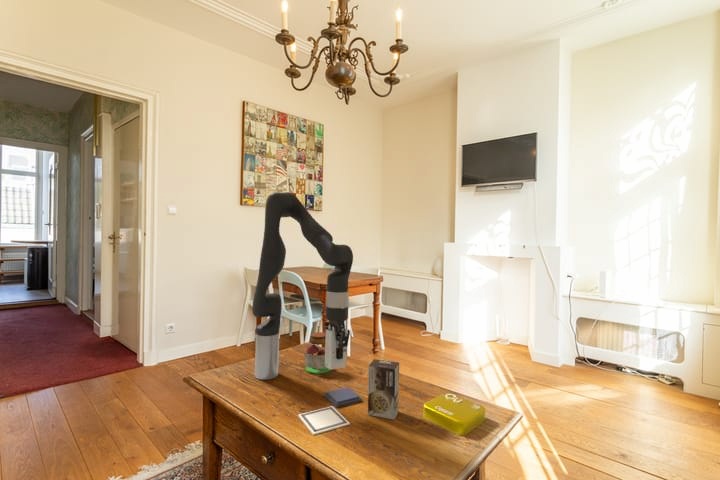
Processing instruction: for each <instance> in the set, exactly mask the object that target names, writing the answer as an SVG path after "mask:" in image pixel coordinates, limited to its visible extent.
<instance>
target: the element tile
mask: <svg viewBox="0 0 720 480" xmlns="http://www.w3.org/2000/svg"><path fill="white" fill-rule="evenodd" d="M422 412H423V414H422V417H423V418H424V419H426V420H427V421H429V422H431V423H433V424H434V425H437V426H439V427H440V428H441V427H442V428H443V429H445V430H447V431H448V432H451V433H453V434H455V435H458V436H466V435H467V434H469V433H470V432H472V431H473V430H474V428H475V429H477V426H478V425H479V426H481V425H482V424H483V422H484V421H486V408H485V406H483V405H481V404H478V403H476V402H474V401H471V400H468V399H465V398H464V397H460V396H458V395H456V394H453V393H451V392H443V394H442V393H441V395H438V396H436V397H434V398H432V399H430V400H428V401H426V402H424V403H423V409H422ZM481 423H482V424H481ZM484 423H485V422H484ZM480 424H481V425H480ZM479 426H478V427H479Z"/></svg>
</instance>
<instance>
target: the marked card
mask: <svg viewBox="0 0 720 480" xmlns="http://www.w3.org/2000/svg"><path fill="white" fill-rule="evenodd" d="M297 416H298V418H299V419H300V420H301V422H302V423H303V424H304V425H305V427H306V428H307V429H308V431H309V432H310V433H311V434H312V435H313V436H314V435H315V436H316V435H318V434H322V433H325V432H328V431H332V430H336V429H338V428H343V427H346V426H348V425H351V423H350V422H349V421H348V420H347V418H345V417H344V415H342V414H341V413H340V411H338V409H337V408H336V407H335V406H334V405H331V406H327V407H323V408H319V409H316V410H315V409H314V410H312V411H307V412H304V413H299V414H298V415H297Z"/></svg>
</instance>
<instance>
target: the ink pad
mask: <svg viewBox="0 0 720 480" xmlns="http://www.w3.org/2000/svg"><path fill="white" fill-rule="evenodd" d="M323 396H324V398H326V399H327V400H328V402H330V403H331V404H332V406H333V407H334V408H335V409H338V408H340V407H344V406H349V405H352V404H357V403H361V402H363V398H362V397H361V396H359V394H357V393H356V392H355V391H354V390H352V389H351V388H350V387H342V388H338V389H334V390H329V391H326V392H323Z"/></svg>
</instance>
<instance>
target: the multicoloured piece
mask: <svg viewBox="0 0 720 480" xmlns="http://www.w3.org/2000/svg"><path fill="white" fill-rule="evenodd" d="M325 339H326V336H325V332H323V331H321V332H320V331H317V332H313V333H310V344H309V345H308V346H307V347H306V349H305V350H306V351H305V352H303V354H304V366H305V370H306V372H307V373H310V374H316V375H317V374H318V375H319V374H325V373H328V372H330V371H331V370H330V369H328V368H327V367H326V366H325V349H320V348H319V347H318V346H317V345H319V346H321V345H325Z"/></svg>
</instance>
